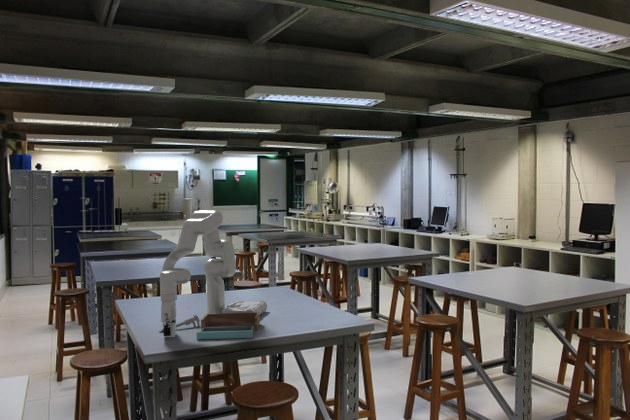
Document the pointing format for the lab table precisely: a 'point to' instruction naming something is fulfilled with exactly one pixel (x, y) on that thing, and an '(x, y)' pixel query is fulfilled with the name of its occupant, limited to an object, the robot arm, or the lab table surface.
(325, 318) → the lab table surface
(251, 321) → the dock
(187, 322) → the caliper
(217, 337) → the tray
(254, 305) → the white folded cloth
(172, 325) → the white speckled block
